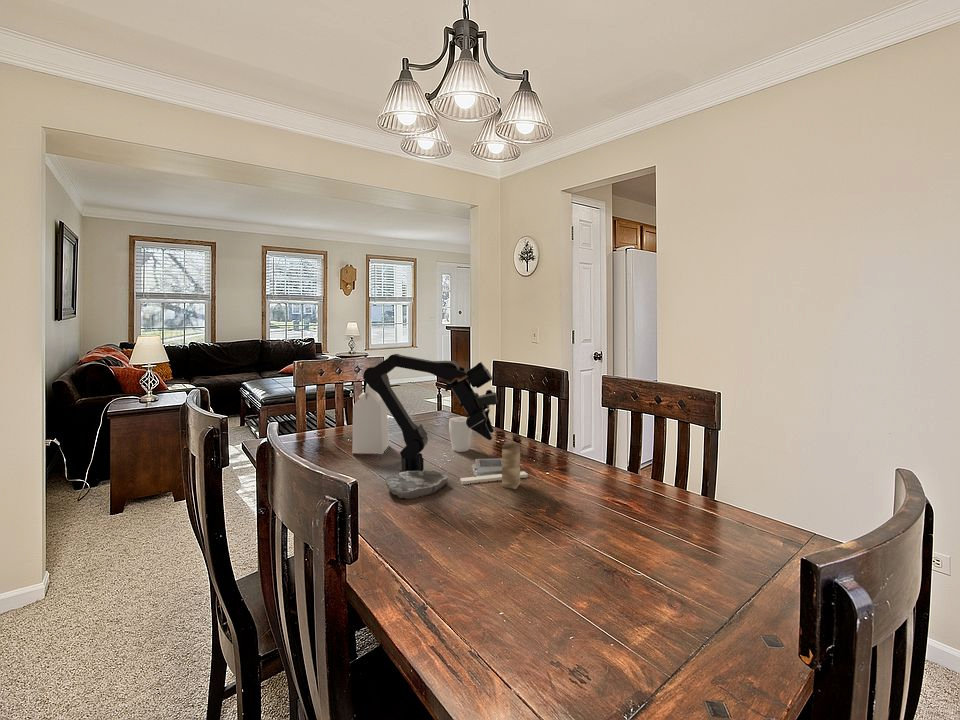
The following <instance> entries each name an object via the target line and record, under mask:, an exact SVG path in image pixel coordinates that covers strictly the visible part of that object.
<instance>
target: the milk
mask: <svg viewBox="0 0 960 720" xmlns="http://www.w3.org/2000/svg"><path fill="white" fill-rule="evenodd" d="M364 391H365V392H361V394H359V396H358V400H357V401H355V402H354V404H353V407H352V444H351V445H352V447H351V448H352V449H351V450H352V451H351V452H352V453H375V454H376V453H379V454H383V453H384V451H385V450H386V449H387V447H388V446H389V447H390V437H389V435H390V434H389V423H388V408H387V406H386V405H385V403H384V401H383V400H382V398H381V397H380V395H379V394H378V393H377V392H375V391H374V390H373V389H372V388H371V387H370V386H369V385H368V384H367V383H366V385H365V389H364ZM389 447H388V448H389ZM387 450H388V449H387ZM387 450H386V451H387ZM386 451H385V452H386ZM352 453H351V454H352ZM384 454H385V453H384ZM384 454H383V455H384Z"/></svg>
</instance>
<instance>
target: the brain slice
mask: <svg viewBox="0 0 960 720" xmlns="http://www.w3.org/2000/svg"><path fill="white" fill-rule="evenodd" d="M448 478H449V476H448V475H447V474H444V473H441V472H438V471H435V470H431V471H429V470H423V471H406V472H398V473H397V474H393V475H389V476H386V479H384V480H385V481H384V482H385V483H386V487H387V489H388V491H390V492H391V494H392V495H393V494H394V495H393V496H395V495H397V496H396V497H397V498H398V497H399V499H401V498H405V499H404V500H411V499H410V498H412V499H415V498H414V497H416V498H420V497H419V496H421V497H425V496H424V495H426V496H427V495H430V494H435V493H436V492H437V491H438V489H439V490H440V489H442V488H443V487H444V486H445V485H446V484H447V481H448Z"/></svg>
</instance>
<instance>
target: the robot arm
mask: <svg viewBox="0 0 960 720" xmlns="http://www.w3.org/2000/svg"><path fill="white" fill-rule="evenodd" d="M395 368H401V369H407V370H413V371H418V372H423V373H429V374H431V375H433V376H435V377H437V378H441V379H442V380H445V381H447V382H446V383H445V388H444V389H445V390H444V391H445V392H448V391H450V390H451V391H452V392H453V393H454V396H455V397H456V398H457V401H458V402H459V406H460V407H462V408H463V409H464V411H465V413H466V417H468V418H467V420H466V425H467V426H468V428H470V429H472V430H473V432H475V433H477V434H479V435H480V436H482V437H483V438H485V439H486V440H488V441H491V440H492V439H493V437H492V434H493V433H494V428H493V424H492V423H491V420H490V416H489V414H490V411H491V408H490V406H491V405H492V406H495V405H497V404H498V395H497V392H495V391H494V392H493V391H492V389H488V390H486V391H485V394H482V395H479V393H478V392H475V391H474V389H473V388H475V387H476V389H479V388H481V387H482V386H483V387H484V385H486V384H487V383H489V382H491V381H492V380H493V377H492V374H491V373H490V371H489V369H487V367H486V366H485V365H484V364H483V362H482V361H480V362H479V363H477V364H476V365H475V366H473V367H472V368H469V369H467V368H464V367H462V366H460V365H459V363H458V362H457V361H455V360H429V359H425V358H424V359H423V358H419V357H418V358H417V357H412V356H407V355H403V354H402V355H401V354H399V353H393V354H391V355H389V356H388V357H387V358H386V359H384V360H383V361H381V362H380V363H378V364H377V365H373V366H372V365H371V366H370V367H367V368H366V369H365V370H364V372H363V376H362V378H363V380H364V382H365V383H366V385H367V384H368V385H369V386H370V387H371V388H372V389H373V390H374V391H375V392H377V393H378V394H379V395H380V397H381V398H382V400H383V401H384V403H385V405H386V406H387V410H389V413H390V414H391V415H392V417H393V418H394V420H395V422H396V423H397V425H398V427H399V428H400V430H401V433H402V437H403V441H404V443H405V446H404V447H403V448H402V449H401V451H400V452H399V454H400V457H401V458H400V460H401V462H400V463H401V469H399V471H400V472H406V471H425V468H424V467H425V466H424V457H423V454H422V453H421V452H422V451H423V450H424V448H425V447H426V446H427V445H428V442H429V441H428V440H429V437H428V432H427V431H426V430H425V429H424V427H423V424H419V425H417V424H416V423H414V422H413V420H412V419H411V417H410V415H409V414H408V412H407V410H406V409H405V407H404V406H403V404H402V402H401V401H400V400H399V398H398V396H397V395H396V393H395V391H394V390H393V388H392V386H391V382H390V378H389V375H388V373H390V372H391V371H393V370H394V369H395ZM463 377H464V378H463ZM454 379H455V380H454ZM449 381H451V382H449ZM400 472H399V473H400Z"/></svg>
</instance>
